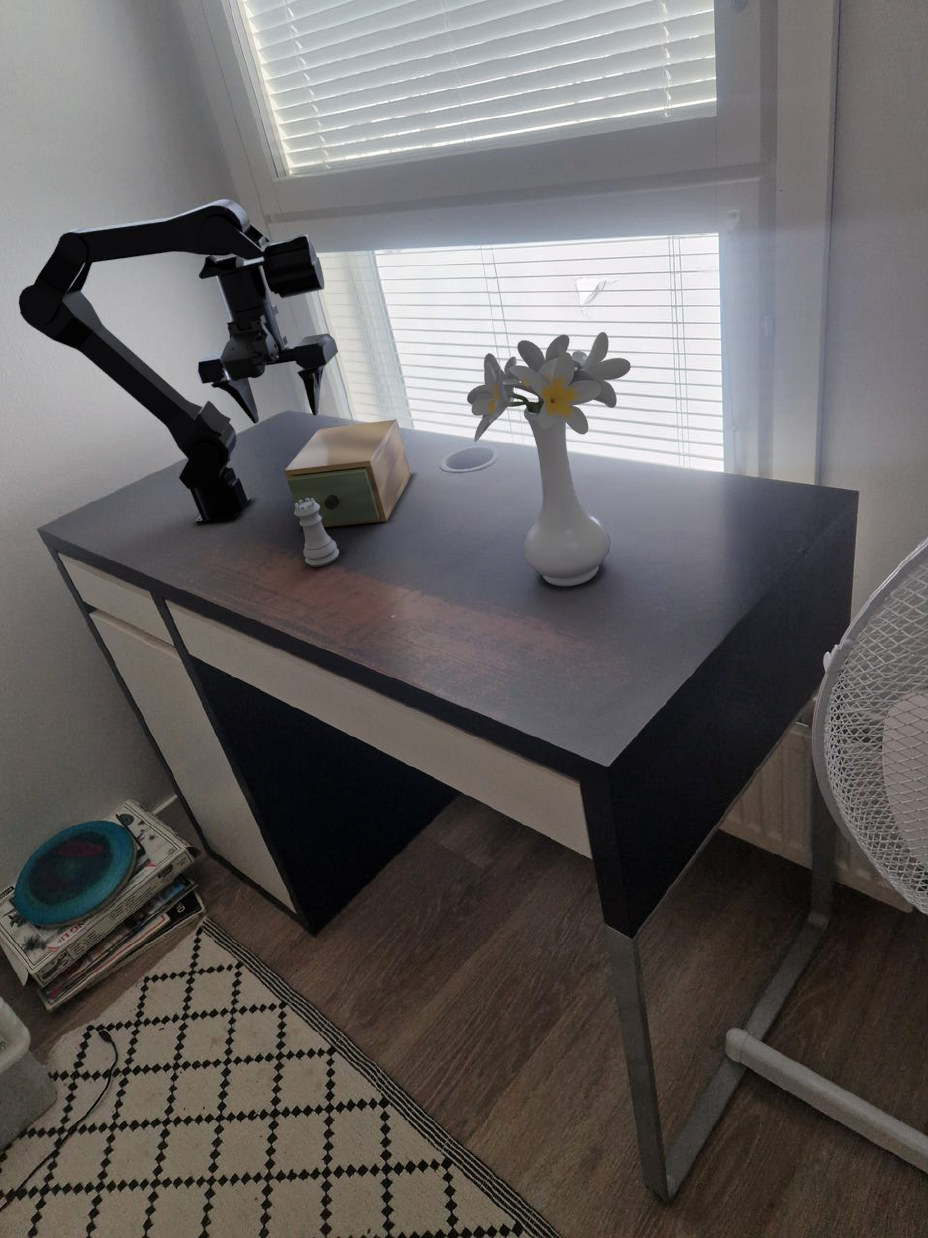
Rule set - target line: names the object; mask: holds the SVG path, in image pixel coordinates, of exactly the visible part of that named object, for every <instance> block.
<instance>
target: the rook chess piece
mask: <svg viewBox="0 0 928 1238" xmlns="http://www.w3.org/2000/svg"><path fill="white" fill-rule="evenodd" d="M305 500H306V502H304V503H303V501H302V500H300V501H298V502H299V505H298V503H295V502H294V507H295V508H294V511H293V515H295V516H296V517H297V518H299V520H300V521H299V526H300V527H302V530H303V536H304V545H303V546H304V549H303V556H304V557H305V559H304V560H305V563H306V564H307V565H309V566H311V567H315V568H319V567H324V566H327V565H329V564H332V563H333V562H335V561H336V560H337V559H338V556H339V553H340V550H339V548H338V546H337V545H338V544H337V543H336V541H335V540H333V539H332V537H331V536H329V535H328V533H327V532H326V530H325V527H323V525H322V523H321V519H322V517H321V516H320V515H319V514H318V511H319V508H320V505H319V504H317V503H316V502H315V500H314V499H313V498H312V499H311V501H310V499H309V498H305Z"/></svg>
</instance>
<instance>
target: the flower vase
mask: <svg viewBox="0 0 928 1238" xmlns="http://www.w3.org/2000/svg"><path fill="white" fill-rule="evenodd" d="M609 342H610V341H609V337H608V334H607V333H606V332H604V331H601V332H599V333H598V334H597V336H596V337H595V339H594V341H593V342H592V346H591V349H590V352H589V354H588V355H587V353H586V352H584V351H582V350H575V351H573V352H572V354H571V353H569V352H568V349H569V346H570V337H569V335H567V334H559V336H557V337H555V338H554V339H553V340H552V341H551V342H550V343H549V345H548V347H547V348H546V351H545V356H544V353H543V351H542V350H541V348H540V347H539V346H538V345H536V344H535V343H534V342H533V341H530V340H527V339H521V340H520V341H519V342H517V352H518V354H519V356H520V357H521V359H522V361H524V363H525V364H526V365H521V364H520V365H519V364H518V360H517V357H516V356H511V357H510V358H509V359H508V360H507V361H506V363H505V365H504V368H503V369H502V367H501V365H500V363H499V361H498V359H497V358H496V356H495V355H494V354H493V353H491V352H488V353H487V354H485V356H484V359H483V371H484V372H483V373H484V374H483V380H484V384H480V385H478V386H476V387H474V388H472V389H471V390H470V391H469V392H468V394H467V396H466V401H467V403H468V404H469V405H471V409H470V410H471V414H472V415H473V416H478V417H481V416H482V417H481V420H480V422H479V423H478V425H477V427H476V429H475V432H474V433H475V434H474V437H473V438H474V439H473V440H474V442H475V443H477V442H478V441H479V439H480V438H482V436H483V434H485V432H486V431H487V430H488V428H489V427H490V426H491V425H492V424H493V423H494V422H495V421H496V420H498V418H500V416H502V415H503V413H504V412H505V410H507V408H514V407H521V406H525V408H524V410H523V417H524V419H525V420H526V421H527V422H528V424H529V426H530V429H531V433H532V435H533V438H534V442H535V446H536V451H537V456H538V463H539V471H540V479H541V492H542V498H541V499H542V500H541V502H542V503H541V508H540V511H539V516H538V518H537V520H536V521H535V522H534V523H533V525H532V526H531V527H530V529H529V531H528V532H527V534H526V536H525V540H524V543H523V555H524V558H525V559H524V560H525V561H526V563H527V564H528V565H529V566H530V567H531V568H532V569H533V570H534V571H535V572H536V573H538V574H541V576H542V578H543V579H544V580H545V582H547V583H549V584H550V585H553V586H557V587H573V586H577V585H581V584H583V583H584V584H585V583H586V582H588V581H591V580H592V578H594V577H595V576H596V575H597V573H598V572H599V567H600V565H601V564H602V563H603V562H604V561H605V559H606V558H607V556H608V554H609V553H610V549H611V537H610V535H609V532H608V530H607V528H606V526H605V525H604V523H603V522H602V521H600V520H599V518H597V517H596V516H594V515H593V514H591V513H590V512H589V511H587V510H586V509H585V508H584V506H583V504H582V503H581V502H580V500H579V498H578V495H577V492H576V488H575V484H574V480H573V475H572V470H571V464H570V459H569V453H568V446H567V426H568V427H569V428H570V429H571V430H573V431H574V432H575V433H577V434H578V435H581V436H582V435H586V434H587V433H588V432H589V422H588V418H587V417H586V415H585V413H584V412H583V411H582V409H581V408H580V407H578V405H579V406H580V405H584V404H586V403H589V402H592V401H596V402H598V403H602V404H603V405H605V406H606V407H608V408H610V409H613V408H615V407H616V406H617V403H618V401H617V400H618V399H617V393H616V391H615V389H614V387H613V386H612V384H611V383H610V382H609V381H611V380H616V379H617V380H618V379H620V378H622V377H625V375H627V374H628V373H629V372H630V370H631V369H632V366H631V362H630V360H628V359H626V358H623V357H613V358H608V359H606V356H607V355H608V351H609ZM517 364H518V365H517ZM515 389H517V390H521V391H524V392H526V393H530V394H532V395H534V396H536V397H537V399H538V400H537V401H529V399H528V398H527V397H526V396H524V395H523V394H518V393H516V392H515ZM516 400H517V401H516ZM518 400H519V401H518Z"/></svg>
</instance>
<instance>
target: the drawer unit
mask: <svg viewBox="0 0 928 1238" xmlns="http://www.w3.org/2000/svg"><path fill="white" fill-rule="evenodd" d="M402 438H403V437H402V433H401V430H400V426H399V422H398V419H389V420H388V419H387V420H382V421H381V420H380V421H375V422H373V421H371V422H365V423H364V422H363V423H357V424H350V425H343V426H335V427H327V428H319V429H317V431H316V432H315V433H314V434H313V435H312V436H311V437H310V439H309V440H308V441H307V442H306V444H305V445H304V446H303V448H301V450H300V451H299V453H297V455H296V456H295V457H294V458H293V460H291V462H290V463H289V464H288V466H287V467H286V468H285V469H284V474H285V477H286V480H287V481H288V479H289V478H290V477H291V476H299V475H300V474H306V473H315V472H324V471H333V470H342V469H350V468H359V467H366V468H367V469H368V472H369V476H370V480H371V483H372V487H373V490H374V494H375V497H376V501H377V505H378V508H379V512H380V515H381V516H380V518H379V520H372V521H361V522H351V523H340V524H330V525H323V527H324V528H329V527H338V526H339V527H340V526H350V525H360V524H368V523H369V524H371V523H382V522H383V523H384V522H388V520H389V517H390V516H391V515H392V512H393V510H394V509H395V506H396V505H397V503H398V501H399V499H400V497H401V496H402V494H403V492H404V490H405V488H406V486H407V484H408V482H409V480H410V478H411V477H412V475H411V474H412V473H411V470H410V466H409V462H408V458H407V453H406V450H405V445H404V441H403V439H402Z"/></svg>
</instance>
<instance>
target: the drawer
mask: <svg viewBox="0 0 928 1238" xmlns="http://www.w3.org/2000/svg"><path fill="white" fill-rule="evenodd" d="M287 483H288V487H289V490H290V493H291V495H292V499H293V501H294V504H295V503H298V505H299V502H298V501H300V500H302V501H303V503H304V502H306V500H305V498H309V499H310V501H311V499H312V498H313V499H314V500H315V502H316V503H317V504H319V505H320V508H319V511H318V514H319V515H320V516H321V517H322V519H321V523H322V525H330V524H340V523H351V522H361V521H372V520H379V518H380V516H381V515H380V512H379V508H378V505H377V501H376V497H375V494H374V490H373V487H372V483H371V480H370V476H369V472H368V469H367V468H366V467H359V468H350V469H342V470H333V471H324V472H315V473H306V474H300V475H299V476H291V477H290V478H289V479H288V480H287Z"/></svg>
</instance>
